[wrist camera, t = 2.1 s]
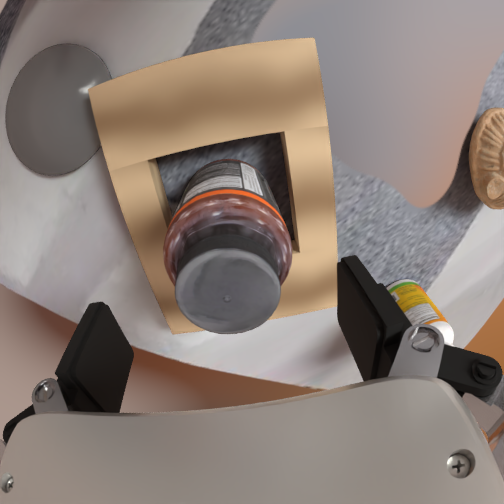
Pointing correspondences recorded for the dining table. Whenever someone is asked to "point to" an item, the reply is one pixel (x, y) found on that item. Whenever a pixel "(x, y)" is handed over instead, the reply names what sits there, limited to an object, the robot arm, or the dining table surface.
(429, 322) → the supplement bottle
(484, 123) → the pottery oil lamp
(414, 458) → the robot arm
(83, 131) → the slate coaster
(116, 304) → the dining table surface
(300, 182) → the holder board
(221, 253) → the supplement bottle
